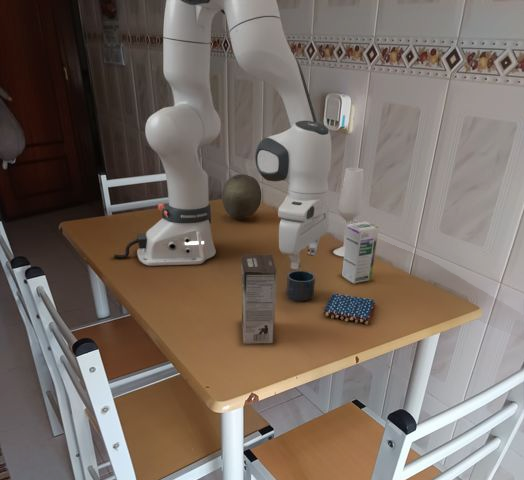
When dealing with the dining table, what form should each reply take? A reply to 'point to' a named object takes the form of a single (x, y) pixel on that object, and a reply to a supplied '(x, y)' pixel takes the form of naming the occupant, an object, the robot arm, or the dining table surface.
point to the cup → (300, 285)
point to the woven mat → (350, 308)
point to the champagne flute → (350, 199)
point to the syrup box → (359, 252)
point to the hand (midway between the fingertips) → (303, 261)
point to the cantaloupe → (241, 196)
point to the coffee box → (258, 298)
